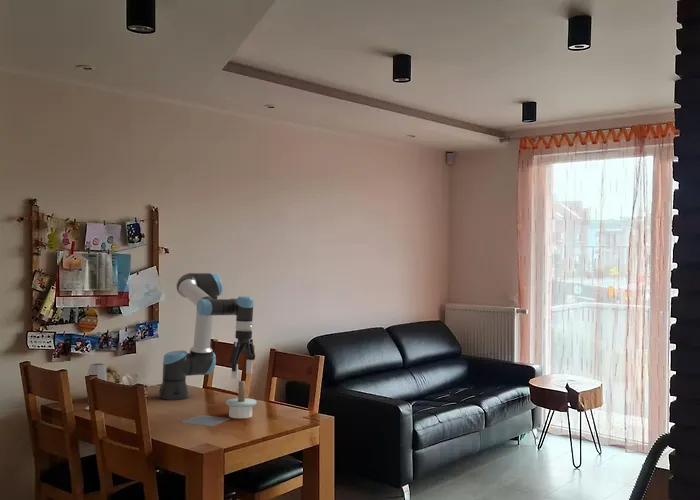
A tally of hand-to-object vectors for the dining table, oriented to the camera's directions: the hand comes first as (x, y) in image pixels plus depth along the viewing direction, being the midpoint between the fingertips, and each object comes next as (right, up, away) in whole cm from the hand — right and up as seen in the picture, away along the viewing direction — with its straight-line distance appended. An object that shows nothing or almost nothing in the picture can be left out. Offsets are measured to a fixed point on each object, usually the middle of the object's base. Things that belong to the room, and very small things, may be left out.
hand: (241, 376), depth 303 cm
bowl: (0, -19, -1) cm, 19 cm away
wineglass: (-69, -16, +4) cm, 71 cm away
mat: (-14, -18, -12) cm, 26 cm away
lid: (0, -13, 0) cm, 13 cm away
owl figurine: (-72, -17, +26) cm, 78 cm away
